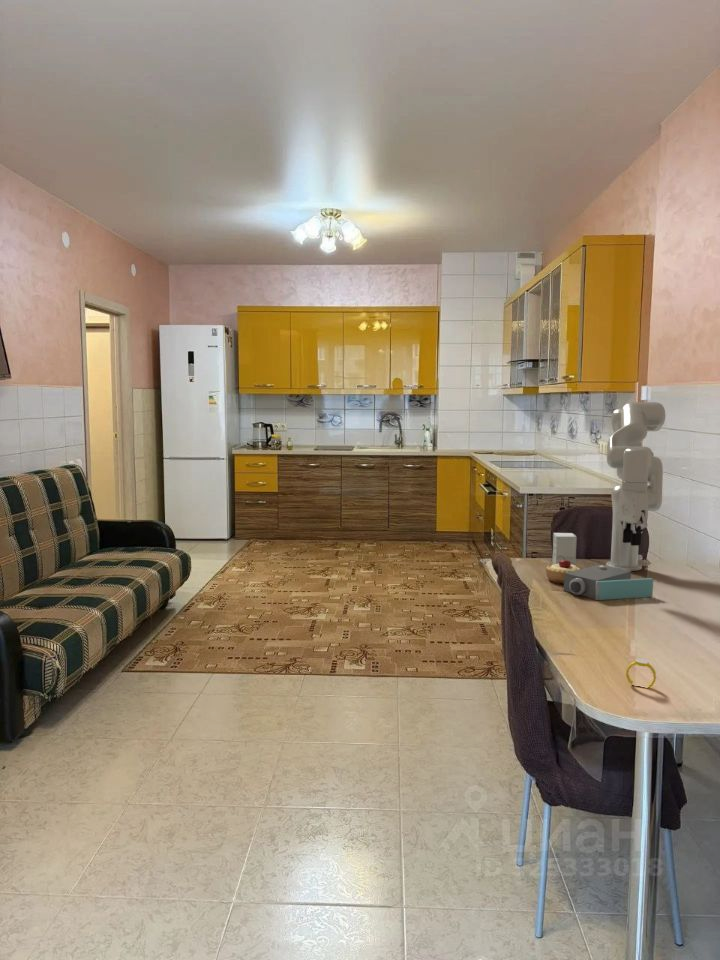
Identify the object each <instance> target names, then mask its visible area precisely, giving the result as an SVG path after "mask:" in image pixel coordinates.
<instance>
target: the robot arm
mask: <svg viewBox="0 0 720 960" xmlns="http://www.w3.org/2000/svg"><path fill="white" fill-rule="evenodd" d="M610 420H611V427H612V430H613V433H612V434H611V436H610V437H609V438H608V441H607V444H606V463H607V465H608V466H609V467H610V468H613V469H616V475H617V477H618V479H620V480H622V481H621V484H618V485H615V486H614V487H613V488H612V490H611V495H610V496H611V506H612V530H611V544H610V545H611V546H610V549H611V550H610V560H609V561H607V562H606V564H605V566H608V567H613V568H617V569H622V570H627V571H631V572H634V571H635V572H636V571H641V570H642V568H643V566H642V565H641V564H640V563H639V561H641V560H643V555H642V554H639V546H641V543H642V534H643V532H644V530H645V528H648V516H649V512H656V511H659V510H660V509H661V508H662V502H663V483H664V482H663V474H664V472H663V469H664V468H663V461H662V459H660V458H659V456H658V457H657V456H654V452H653V450H652V449H651V448H650V447H648V446H644V445H643V442H642V441H644V440H645V439H646V438H647V434H648V432H659V431H661V429H662V427H663V426H664V423H665V421H666V409H665V407H664V405H663V404H661V403H660V402H655V401H654V402H653V401H649V402H648V401H633V402H627V403H626V404H624V405H623V406H622V408H621V407H620V408H617V409H614V410H613V412H612V413H611V419H610ZM642 445H643V446H642ZM648 484H649V485H648Z"/></svg>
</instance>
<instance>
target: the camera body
mask: <svg viewBox="0 0 720 960" xmlns="http://www.w3.org/2000/svg"><path fill="white" fill-rule="evenodd" d="M628 579H632V571H627V570H622V569H617V568H613V567H608V566H606V565H602V564H596V565H591V566H589V567H583V568H580V569H579V570H575V571H571V572H567V573H564V584H563V591H564V592H566V591H567V593H570V592H571V594H574V595H576V596H582V595H583V596H582V597H586V596H587V597H586V598H590V597H591V599H593V598H595V592H596V581H611V580H628Z"/></svg>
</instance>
